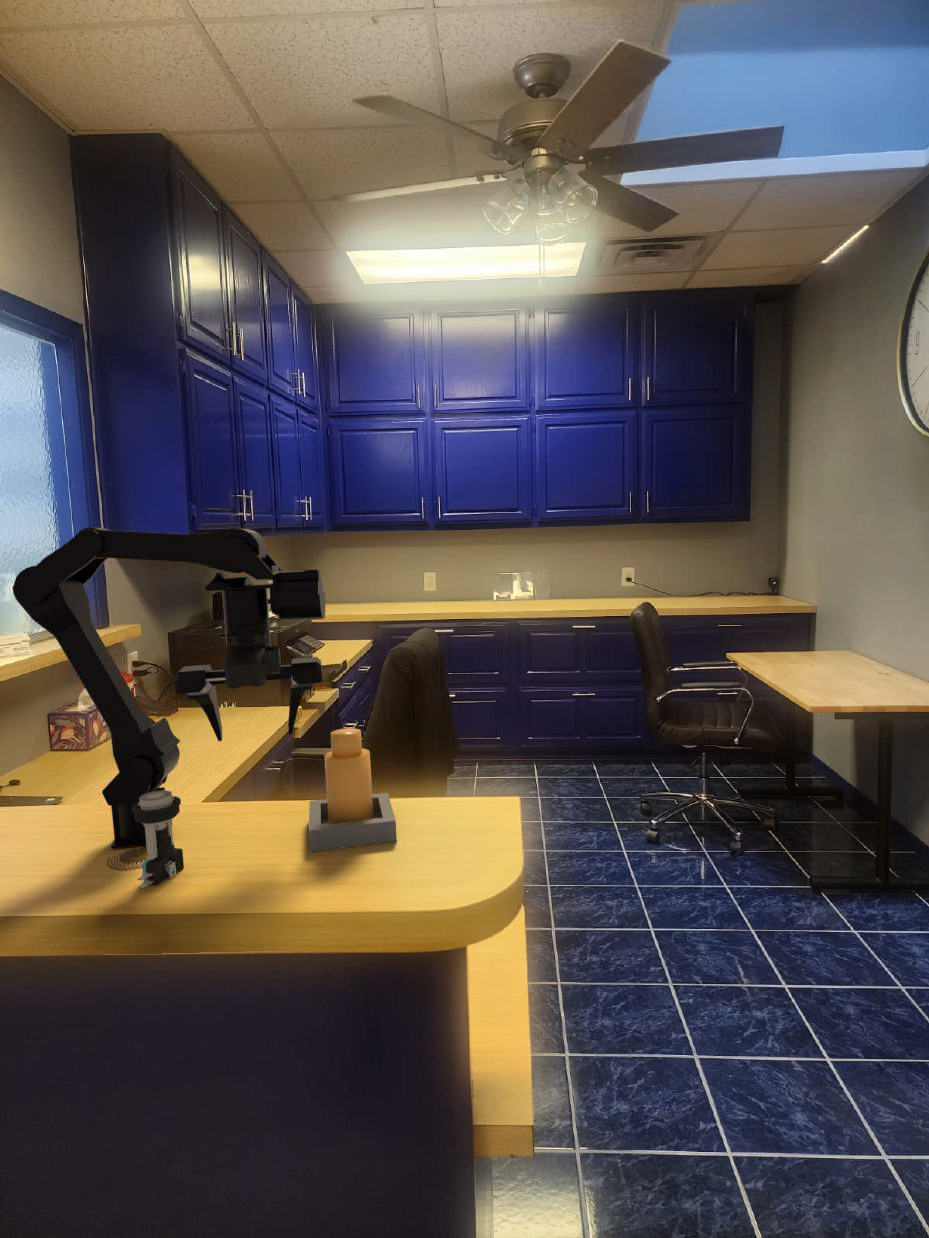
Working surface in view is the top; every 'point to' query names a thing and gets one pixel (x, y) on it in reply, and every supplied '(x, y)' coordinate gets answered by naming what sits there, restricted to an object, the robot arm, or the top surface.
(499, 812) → the top surface
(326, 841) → the socket
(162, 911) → the top surface
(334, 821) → the peach lotion bottle
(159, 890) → the top surface
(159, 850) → the push button
